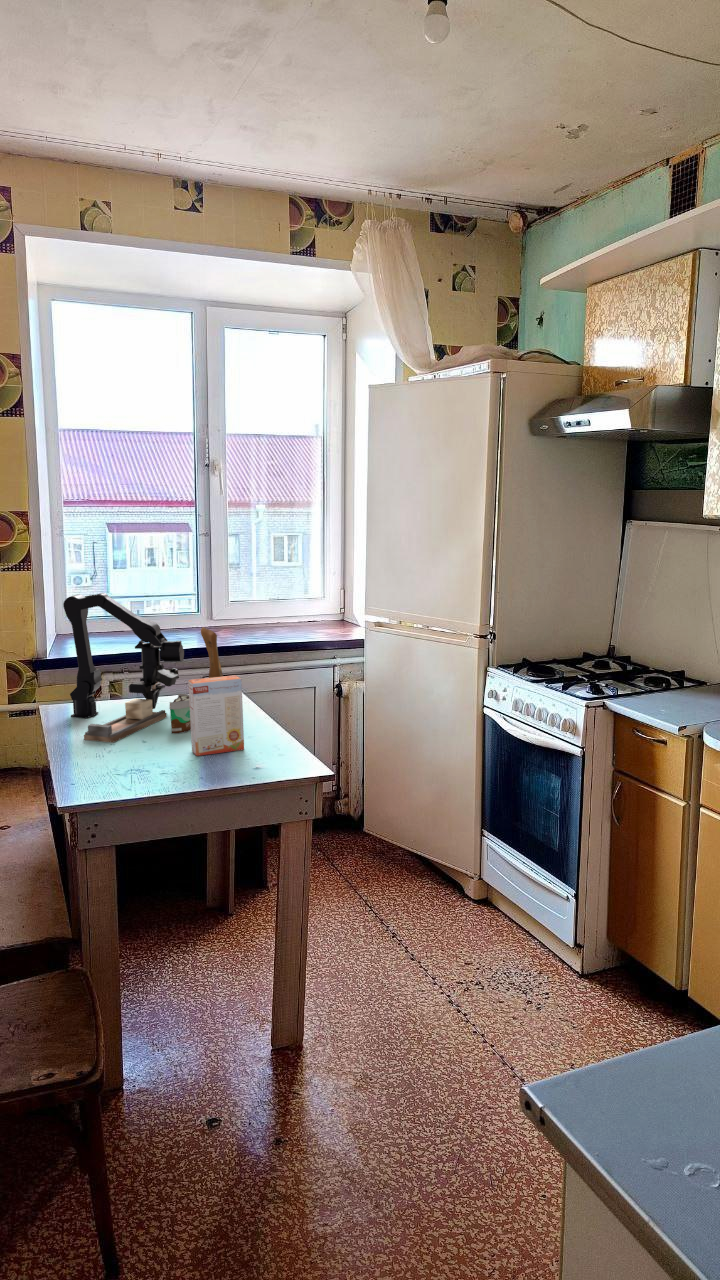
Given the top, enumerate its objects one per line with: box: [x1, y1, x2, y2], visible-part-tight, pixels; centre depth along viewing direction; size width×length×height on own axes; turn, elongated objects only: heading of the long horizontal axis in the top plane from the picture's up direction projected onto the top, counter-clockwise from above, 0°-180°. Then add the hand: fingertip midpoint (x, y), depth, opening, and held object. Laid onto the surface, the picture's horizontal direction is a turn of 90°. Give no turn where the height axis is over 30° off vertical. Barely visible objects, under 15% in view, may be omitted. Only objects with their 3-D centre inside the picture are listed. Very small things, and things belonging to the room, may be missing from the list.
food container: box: [169, 693, 191, 734], centre depth 265 cm, size 12×6×10 cm, turn 179°
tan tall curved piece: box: [200, 626, 224, 678], centre depth 285 cm, size 7×19×28 cm, turn 16°
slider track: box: [83, 709, 168, 744], centre depth 267 cm, size 10×30×4 cm, turn 162°
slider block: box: [124, 697, 154, 720], centre depth 274 cm, size 6×6×5 cm
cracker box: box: [188, 674, 245, 757], centre depth 242 cm, size 14×6×21 cm, turn 114°
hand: (153, 708), depth 282 cm, fingers closed
